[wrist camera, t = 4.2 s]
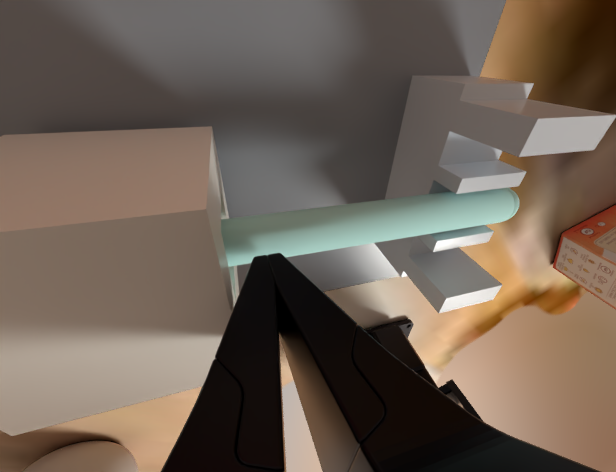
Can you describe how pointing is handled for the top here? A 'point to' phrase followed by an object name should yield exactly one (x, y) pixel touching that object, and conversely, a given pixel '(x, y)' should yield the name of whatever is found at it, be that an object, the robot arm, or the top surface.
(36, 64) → the board
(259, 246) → the pale teal rod
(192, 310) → the sleeve
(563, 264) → the cracker box
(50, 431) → the top surface
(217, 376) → the robot arm
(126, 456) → the pump dispenser
